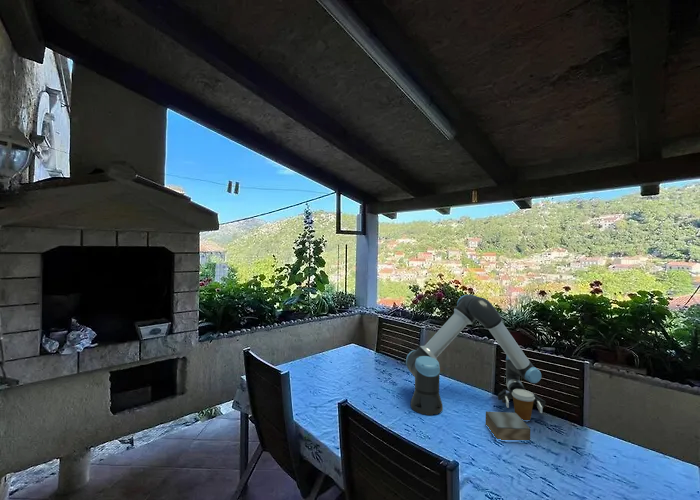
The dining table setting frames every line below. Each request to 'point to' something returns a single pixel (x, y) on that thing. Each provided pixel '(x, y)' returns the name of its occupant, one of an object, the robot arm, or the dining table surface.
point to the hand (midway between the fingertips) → (524, 407)
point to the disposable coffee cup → (523, 403)
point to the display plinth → (507, 426)
